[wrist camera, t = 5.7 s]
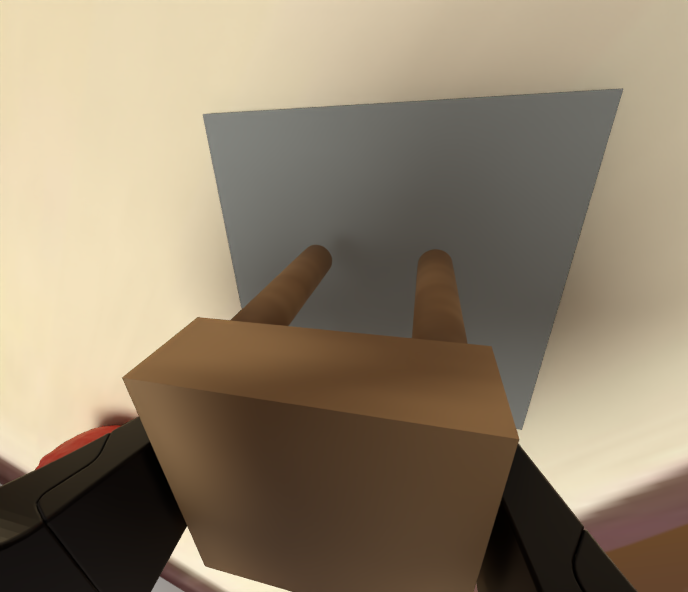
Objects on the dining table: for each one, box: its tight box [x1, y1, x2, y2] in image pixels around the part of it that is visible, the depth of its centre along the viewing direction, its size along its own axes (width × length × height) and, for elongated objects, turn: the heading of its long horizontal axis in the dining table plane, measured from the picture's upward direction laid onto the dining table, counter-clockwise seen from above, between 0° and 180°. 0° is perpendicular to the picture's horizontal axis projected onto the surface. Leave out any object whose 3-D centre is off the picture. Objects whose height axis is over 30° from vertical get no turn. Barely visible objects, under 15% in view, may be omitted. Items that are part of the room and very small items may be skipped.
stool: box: [122, 245, 519, 592], centre depth 9 cm, size 6×6×8 cm
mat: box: [203, 89, 623, 430], centre depth 15 cm, size 15×15×1 cm
